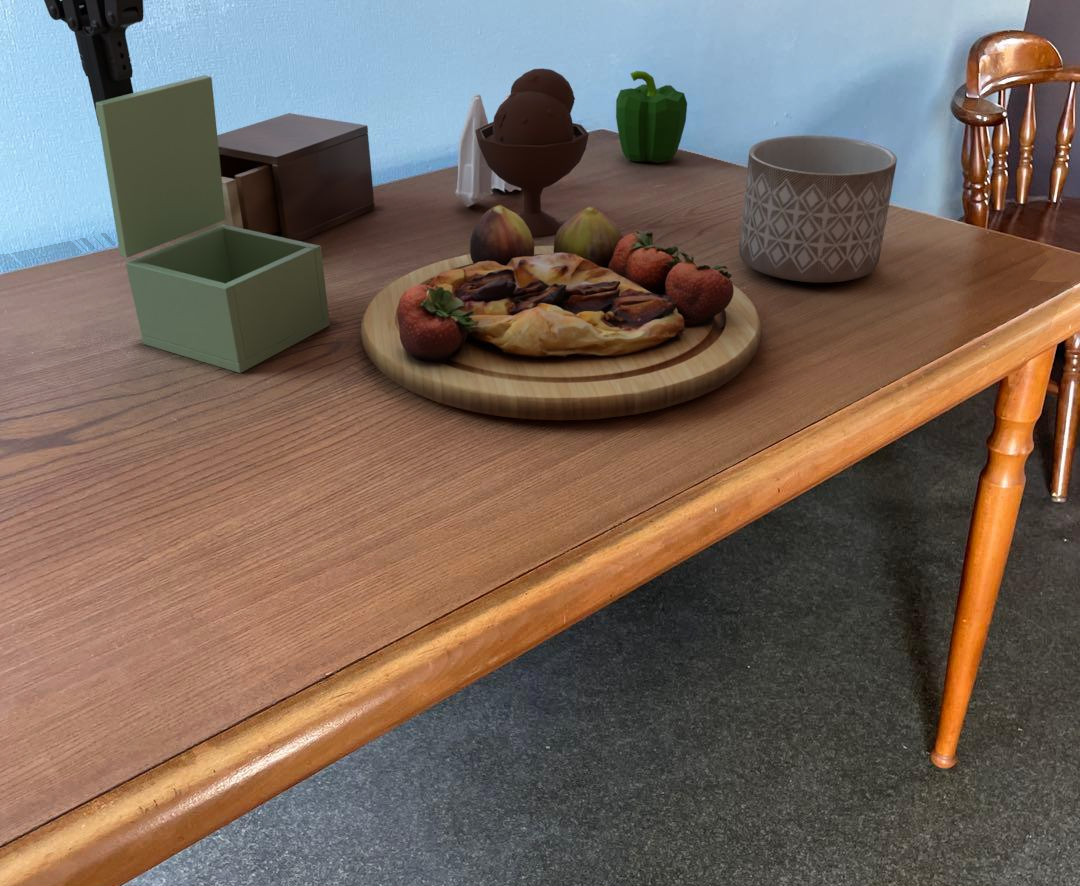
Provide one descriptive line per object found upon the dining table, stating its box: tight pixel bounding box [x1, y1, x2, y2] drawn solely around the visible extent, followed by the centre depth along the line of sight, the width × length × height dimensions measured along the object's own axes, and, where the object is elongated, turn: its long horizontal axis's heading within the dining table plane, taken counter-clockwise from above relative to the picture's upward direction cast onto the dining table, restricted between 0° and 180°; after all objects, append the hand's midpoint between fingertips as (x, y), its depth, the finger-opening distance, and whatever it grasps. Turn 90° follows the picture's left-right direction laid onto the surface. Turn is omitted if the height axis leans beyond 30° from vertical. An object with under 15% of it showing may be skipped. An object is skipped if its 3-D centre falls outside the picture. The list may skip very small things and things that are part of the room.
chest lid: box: [95, 74, 225, 259], centre depth 85 cm, size 11×11×4 cm
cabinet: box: [217, 112, 376, 242], centre depth 111 cm, size 14×11×9 cm
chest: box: [124, 224, 331, 374], centre depth 87 cm, size 11×11×7 cm
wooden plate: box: [360, 204, 762, 421], centre depth 86 cm, size 32×32×8 cm
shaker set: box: [454, 93, 522, 208], centre depth 116 cm, size 12×4×11 cm, turn 152°
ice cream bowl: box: [475, 68, 590, 238], centre depth 107 cm, size 11×11×15 cm
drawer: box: [173, 154, 281, 242], centre depth 105 cm, size 17×9×7 cm, turn 149°
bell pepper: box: [615, 70, 688, 163], centre depth 129 cm, size 8×8×10 cm
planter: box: [738, 134, 898, 284], centre depth 98 cm, size 13×13×10 cm
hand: (119, 122), depth 84 cm, fingers closed
